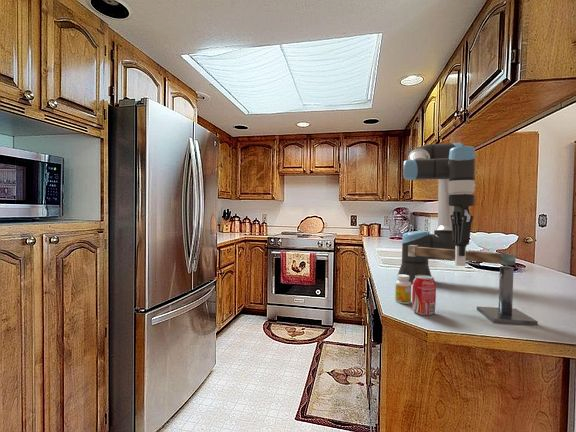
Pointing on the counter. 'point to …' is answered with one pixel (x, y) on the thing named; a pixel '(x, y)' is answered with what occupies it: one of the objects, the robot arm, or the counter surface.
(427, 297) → the soda can
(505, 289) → the post
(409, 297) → the supplement bottle
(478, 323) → the counter surface
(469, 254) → the swing arm
